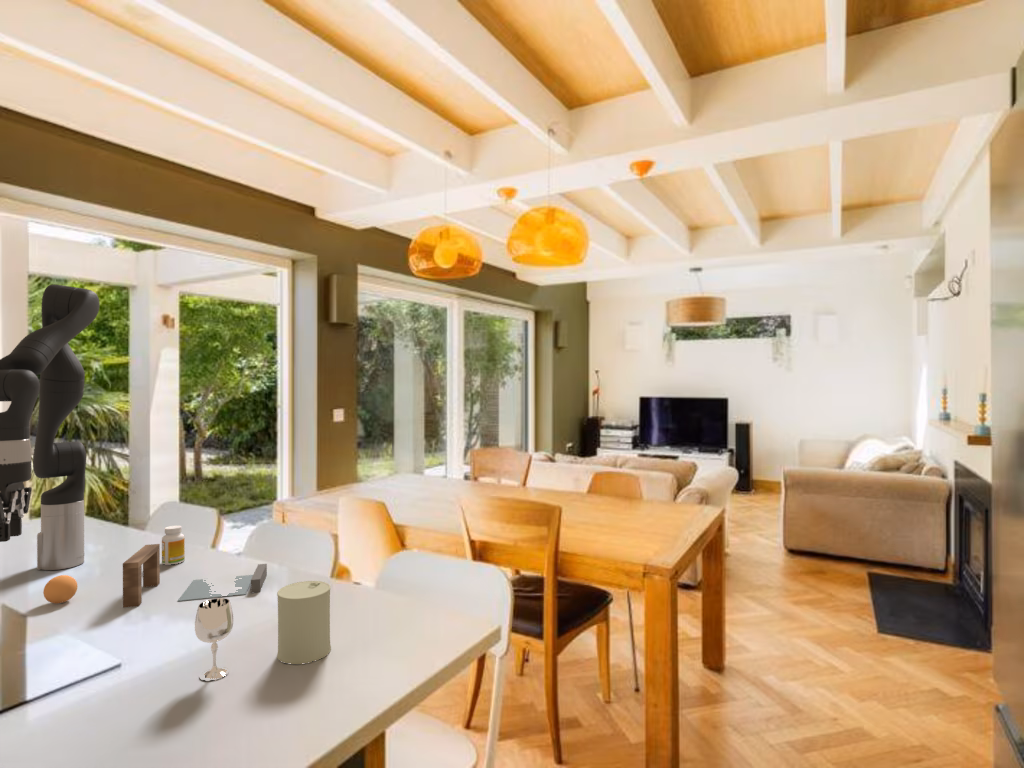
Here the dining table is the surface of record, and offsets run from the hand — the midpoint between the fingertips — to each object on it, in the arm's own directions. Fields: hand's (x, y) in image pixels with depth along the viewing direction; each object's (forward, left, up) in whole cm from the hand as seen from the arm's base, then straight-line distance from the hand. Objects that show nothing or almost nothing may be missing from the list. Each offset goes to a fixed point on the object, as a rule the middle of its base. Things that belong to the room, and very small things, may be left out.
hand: (9, 538), depth 124 cm
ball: (+10, 0, -12) cm, 15 cm away
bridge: (+26, 0, -15) cm, 30 cm away
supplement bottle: (+26, +25, -15) cm, 39 cm away
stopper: (+51, 0, -15) cm, 53 cm away
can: (+64, -41, -15) cm, 77 cm away
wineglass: (+50, -45, -15) cm, 69 cm away
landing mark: (+42, 0, -15) cm, 44 cm away
